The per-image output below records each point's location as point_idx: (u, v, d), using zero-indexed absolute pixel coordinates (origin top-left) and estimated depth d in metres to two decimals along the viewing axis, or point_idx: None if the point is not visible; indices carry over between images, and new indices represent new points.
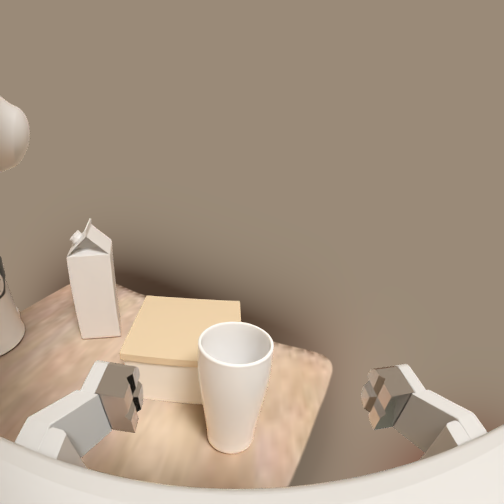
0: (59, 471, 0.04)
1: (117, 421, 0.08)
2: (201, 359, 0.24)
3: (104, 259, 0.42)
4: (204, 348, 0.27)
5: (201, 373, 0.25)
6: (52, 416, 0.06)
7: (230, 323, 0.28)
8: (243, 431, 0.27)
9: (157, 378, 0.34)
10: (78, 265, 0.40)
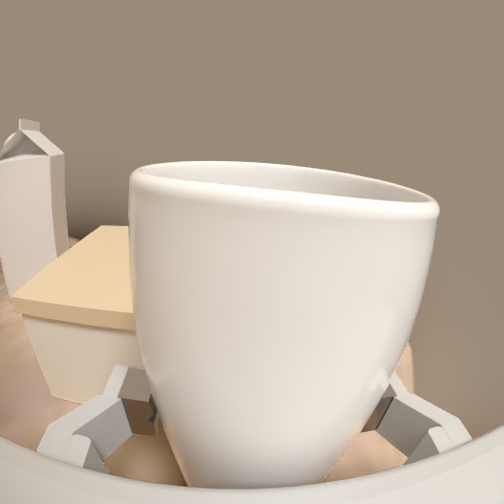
0: (59, 471, 0.04)
1: (139, 425, 0.08)
2: (132, 225, 0.05)
3: (41, 164, 0.22)
4: None
5: (136, 307, 0.05)
6: (74, 422, 0.06)
7: (257, 167, 0.09)
8: None
9: (85, 359, 0.14)
10: (5, 176, 0.21)
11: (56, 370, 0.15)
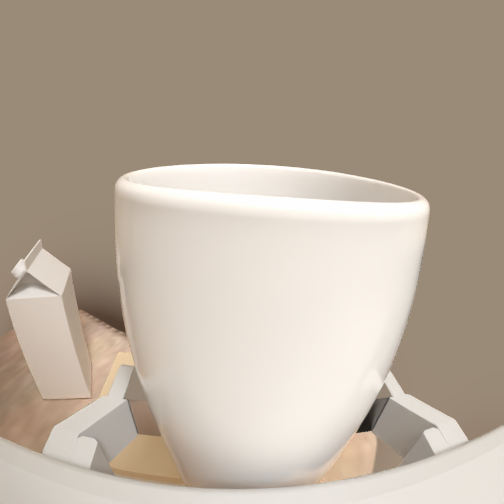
0: (59, 471, 0.04)
1: (145, 425, 0.08)
2: (118, 232, 0.05)
3: (54, 303, 0.26)
4: None
5: (125, 313, 0.05)
6: (80, 424, 0.06)
7: (247, 168, 0.09)
8: None
9: None
10: (21, 310, 0.24)
11: None
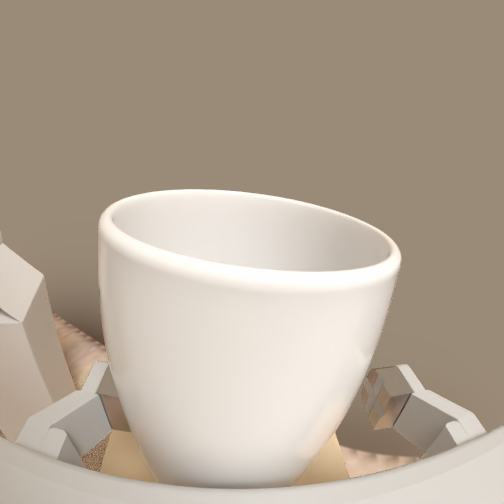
0: (59, 471, 0.04)
1: (118, 421, 0.08)
2: (100, 268, 0.05)
3: (13, 333, 0.14)
4: None
5: (106, 339, 0.06)
6: (53, 416, 0.06)
7: (232, 195, 0.10)
8: None
9: None
10: None
11: None
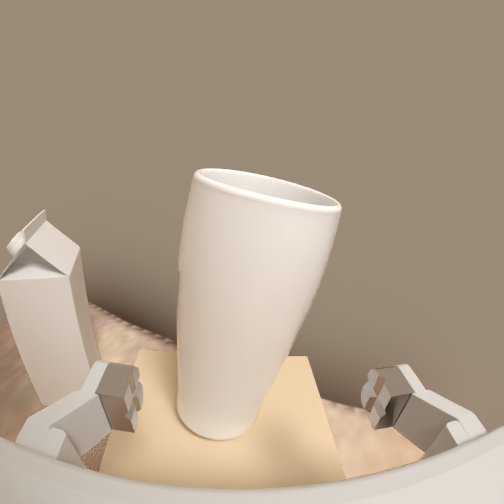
0: (59, 471, 0.04)
1: (117, 421, 0.08)
2: (196, 199, 0.12)
3: (60, 285, 0.20)
4: None
5: (188, 238, 0.12)
6: (52, 416, 0.06)
7: (254, 176, 0.16)
8: (250, 395, 0.14)
9: None
10: (17, 295, 0.19)
11: None
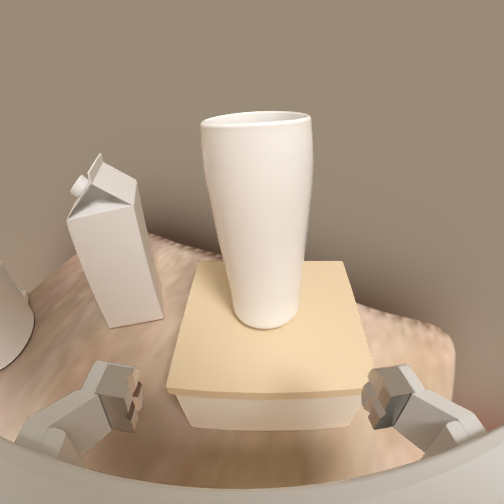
0: (59, 471, 0.04)
1: (117, 421, 0.08)
2: (204, 138, 0.16)
3: (125, 214, 0.26)
4: None
5: (206, 165, 0.17)
6: (52, 416, 0.06)
7: (251, 113, 0.20)
8: (280, 277, 0.20)
9: (231, 410, 0.21)
10: (86, 229, 0.26)
11: (201, 416, 0.22)
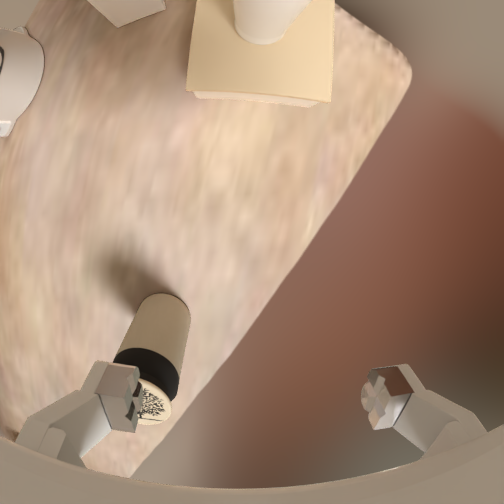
0: (59, 471, 0.04)
1: (117, 421, 0.08)
2: None
3: None
4: None
5: None
6: (52, 416, 0.06)
7: None
8: (276, 29, 0.20)
9: (229, 93, 0.30)
10: None
11: (206, 95, 0.31)
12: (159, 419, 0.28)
